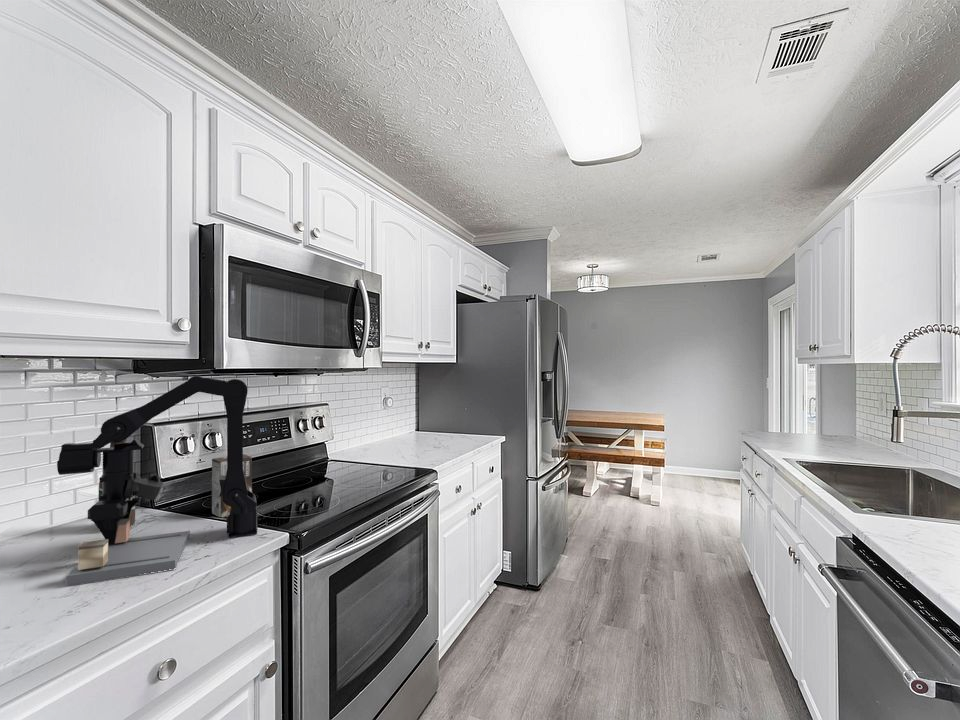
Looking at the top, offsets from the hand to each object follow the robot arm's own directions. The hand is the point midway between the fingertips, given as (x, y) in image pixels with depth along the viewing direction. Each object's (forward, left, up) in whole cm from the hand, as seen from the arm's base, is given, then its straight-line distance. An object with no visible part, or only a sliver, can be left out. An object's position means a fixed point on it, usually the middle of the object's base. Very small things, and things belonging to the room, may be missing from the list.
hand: (117, 537), depth 107 cm
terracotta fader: (0, 0, -1) cm, 1 cm away
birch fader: (+1, +14, -1) cm, 14 cm away
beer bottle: (+5, -20, -4) cm, 21 cm away
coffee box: (-22, -22, -4) cm, 31 cm away
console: (-5, +7, -3) cm, 9 cm away
